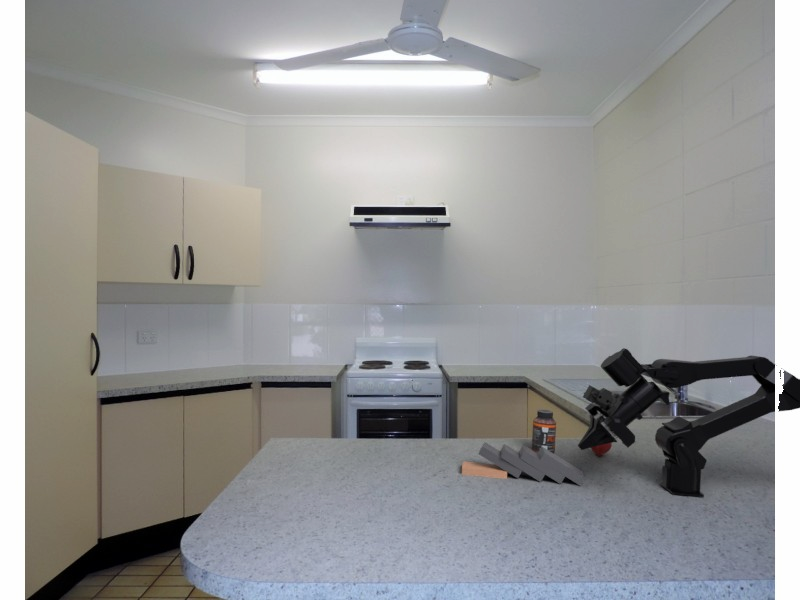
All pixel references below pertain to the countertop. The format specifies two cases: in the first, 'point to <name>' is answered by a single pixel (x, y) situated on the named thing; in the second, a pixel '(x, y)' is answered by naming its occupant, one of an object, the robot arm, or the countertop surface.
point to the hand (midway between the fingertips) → (579, 447)
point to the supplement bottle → (544, 431)
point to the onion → (601, 449)
